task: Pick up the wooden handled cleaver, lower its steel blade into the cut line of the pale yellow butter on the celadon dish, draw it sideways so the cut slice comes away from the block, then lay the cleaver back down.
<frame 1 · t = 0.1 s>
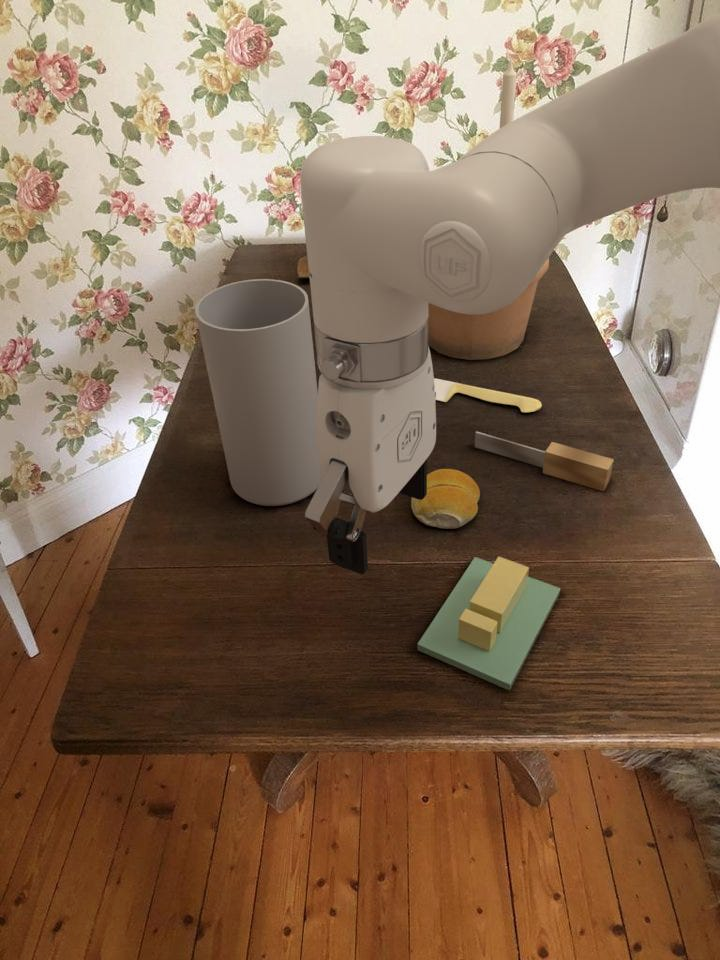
hand: (380, 527, 61), 20 cm above the table, tool pointing down, fingers open, 9 cm apart
pottery: (473, 336, 126), on the table
knife: (429, 390, 114), on the table
candle: (495, 281, 142), on the table
cylinder vase: (278, 478, 99), on the table
butter slice: (476, 639, 76), point 1 cm above the table, touching butter dish
bread roll: (446, 508, 93), on the table
stone cup: (335, 271, 149), on the table
wooden handled cleaver: (575, 476, 96), on the table
butter dish: (490, 621, 79), on the table
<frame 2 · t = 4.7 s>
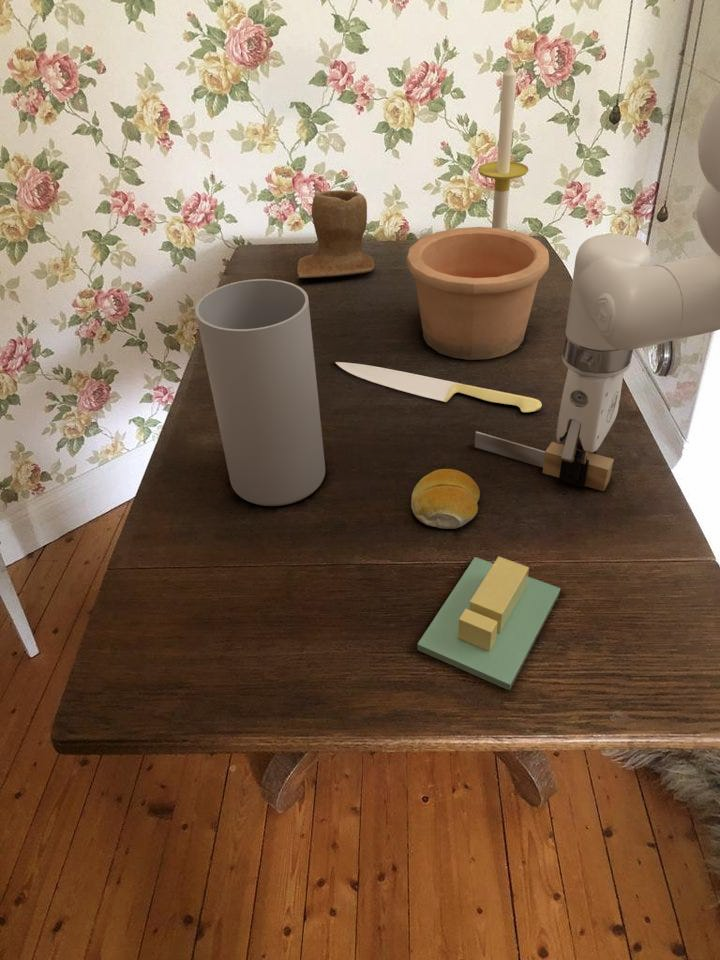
hand: (575, 474, 96), 0 cm above the table, tool pointing down, fingers closed on wooden handled cleaver, 2 cm apart
wooden handled cleaver: (575, 476, 96), on the table, touching gripper
everything else where it was.
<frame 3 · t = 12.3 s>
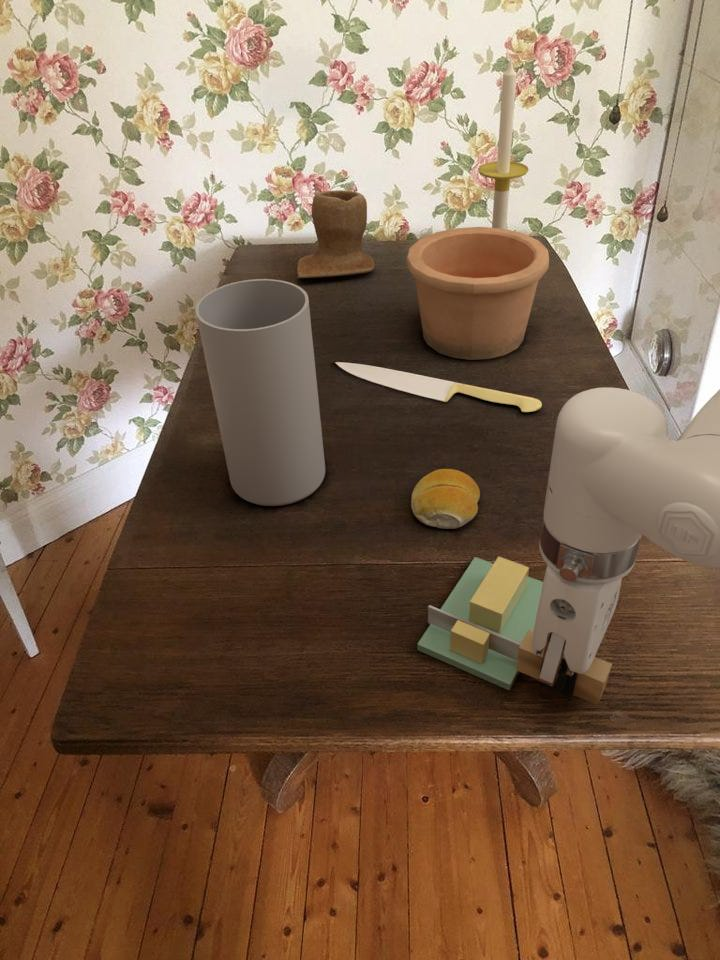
hand: (561, 676, 71), 2 cm above the table, tool pointing down, fingers closed on wooden handled cleaver, 2 cm apart
butter slice: (469, 651, 75), point 1 cm above the table, touching butter dish, wooden handled cleaver
wooden handled cleaver: (560, 678, 71), point 2 cm above the table, touching butter slice, gripper
everything else where it was.
when the fingers open (0 cm above the table, at t = 20.2 s): wooden handled cleaver stays where it is, on the table.
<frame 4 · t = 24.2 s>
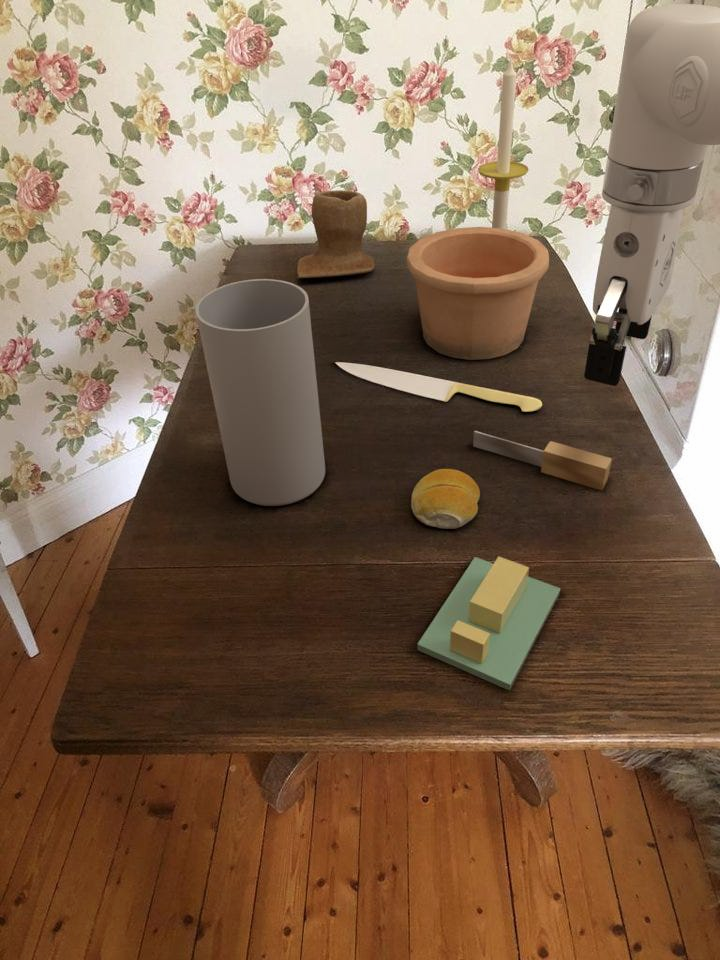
hand: (616, 357, 74), 23 cm above the table, tool pointing down, fingers open, 9 cm apart
butter slice: (469, 651, 75), point 1 cm above the table, touching butter dish
wooden handled cleaver: (573, 476, 96), on the table
everything else where it was.
at the end: butter slice 0.4 cm from the target spot on the butter dish, point 1.0 cm above the butter dish's base; butter slice tilted 0°; the gripper is holding nothing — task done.
